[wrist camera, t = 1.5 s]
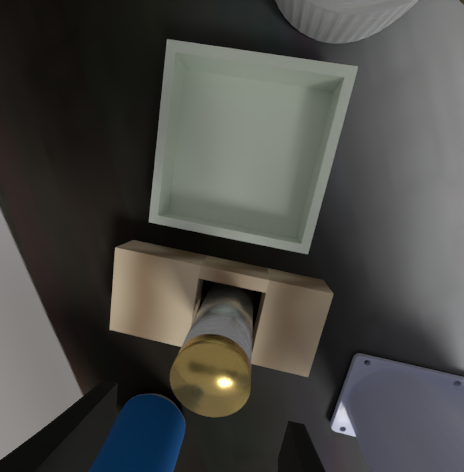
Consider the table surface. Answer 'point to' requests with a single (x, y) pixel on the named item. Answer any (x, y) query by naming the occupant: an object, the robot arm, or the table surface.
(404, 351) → the table surface
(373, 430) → the robot arm
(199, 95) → the tray
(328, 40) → the ramekin
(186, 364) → the white and gold cylinder
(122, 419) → the beverage can
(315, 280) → the wooden block with hole
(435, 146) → the table surface
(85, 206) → the table surface
